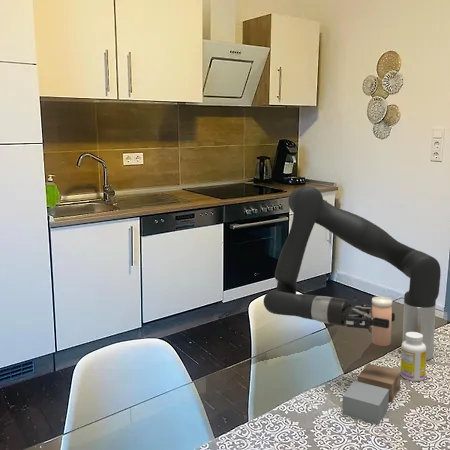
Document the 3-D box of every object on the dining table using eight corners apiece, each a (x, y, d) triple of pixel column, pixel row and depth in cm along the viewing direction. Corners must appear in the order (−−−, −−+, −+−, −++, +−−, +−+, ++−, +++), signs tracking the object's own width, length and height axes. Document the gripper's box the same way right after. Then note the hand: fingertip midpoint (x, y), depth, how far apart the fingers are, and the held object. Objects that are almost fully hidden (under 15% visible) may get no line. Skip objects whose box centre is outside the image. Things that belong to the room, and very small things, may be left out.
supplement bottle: (421, 371, 141) (422, 330, 139) (428, 382, 134) (430, 339, 132) (397, 371, 141) (399, 330, 139) (403, 381, 135) (405, 339, 133)
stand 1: (367, 379, 137) (368, 363, 136) (400, 387, 132) (400, 370, 131) (357, 393, 129) (358, 376, 128) (391, 402, 124) (392, 384, 123)
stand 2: (354, 398, 127) (354, 380, 126) (388, 407, 122) (389, 389, 121) (342, 414, 119) (342, 395, 118) (378, 424, 114) (379, 405, 114)
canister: (374, 336, 132) (375, 295, 130) (393, 340, 129) (394, 298, 127) (368, 343, 127) (369, 300, 125) (388, 347, 125) (389, 303, 123)
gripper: (321, 305, 128) (384, 315, 119) (339, 291, 140) (399, 299, 131) (321, 331, 130) (384, 343, 120) (339, 315, 141) (398, 325, 132)
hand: (391, 320), depth 126 cm, fingers closed on canister, 5 cm apart
